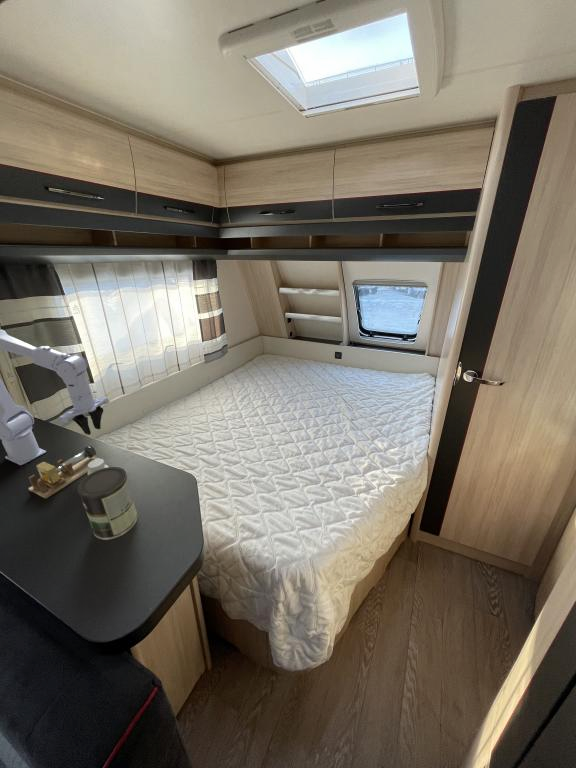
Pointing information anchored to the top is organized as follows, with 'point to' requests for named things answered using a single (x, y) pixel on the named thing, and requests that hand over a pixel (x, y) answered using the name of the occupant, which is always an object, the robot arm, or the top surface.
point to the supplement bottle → (96, 465)
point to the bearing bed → (66, 478)
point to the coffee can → (108, 502)
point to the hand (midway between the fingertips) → (92, 431)
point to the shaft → (78, 458)
